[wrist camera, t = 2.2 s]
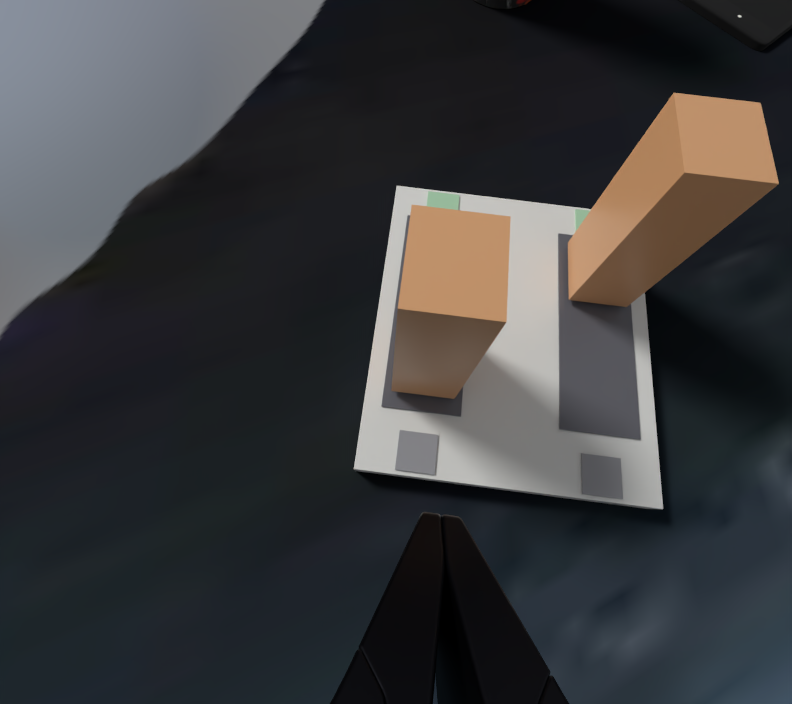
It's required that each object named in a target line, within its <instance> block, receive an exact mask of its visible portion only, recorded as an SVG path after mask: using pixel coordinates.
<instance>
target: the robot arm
mask: <svg viewBox="0 0 792 704" xmlns="http://www.w3.org/2000/svg"><path fill="white" fill-rule="evenodd" d="M435 673H436V686H437V699H438V704H569V703H568V701H567V699H566V698H565V696H564V694H563V693H562V691H561V689H560V687H559V686H558V684H557V682H556V680H555V679H554V677H553V676H549V675H550V670H549V669H548V667H547V665H546V663H545V662H544V660H543V658H542V657H541V655H540V653H539V651H538V650H537V648H536V646H535V645H534V643H533V641H532V639H531V638H530V636H529V634H528V632H527V631H526V629H525V627H524V626H523V624H522V622H521V620H520V619H519V617H518V615H517V614H516V612H515V610H514V608H513V607H512V605H511V603H510V601H509V600H508V598H507V596H506V595H505V593H504V591H503V589H502V588H501V586H500V584H499V583H498V581H497V579H496V577H495V576H494V574H493V572H492V570H491V569H490V567H489V565H488V564H487V562H486V560H485V558H484V557H483V555H482V553H481V552H480V550H479V548H478V546H477V545H476V543H475V541H474V539H473V538H472V536H471V534H470V533H469V531H468V529H467V527H466V526H465V524H464V522H463V521H462V519H461V518H460V517H458V516H451V515H442V516H440V515H439V514H436V513H428V512H423V513H422V514H421V515H420V518H419V520H418V522H417V524H416V526H415V528H414V530H413V532H412V535H411V537H410V539H409V541H408V543H407V545H406V547H405V549H404V552H403V554H402V556H401V558H400V560H399V562H398V564H397V566H396V569H395V571H394V573H393V575H392V577H391V579H390V581H389V583H388V586H387V588H386V590H385V592H384V594H383V596H382V598H381V600H380V603H379V605H378V607H377V609H376V611H375V613H374V615H373V617H372V620H371V622H370V624H369V626H368V628H367V630H366V632H365V634H364V637H363V639H362V641H361V643H360V645H359V649H358V650H357V651H356V653H355V655H354V657H353V659H352V662H351V664H350V666H349V668H348V670H347V672H346V674H345V676H344V678H343V680H342V682H341V684H340V686H339V688H338V690H337V692H336V693H335V695H334V697H333V699H332V701H331V703H330V704H433V694H434V683H435Z"/></svg>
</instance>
